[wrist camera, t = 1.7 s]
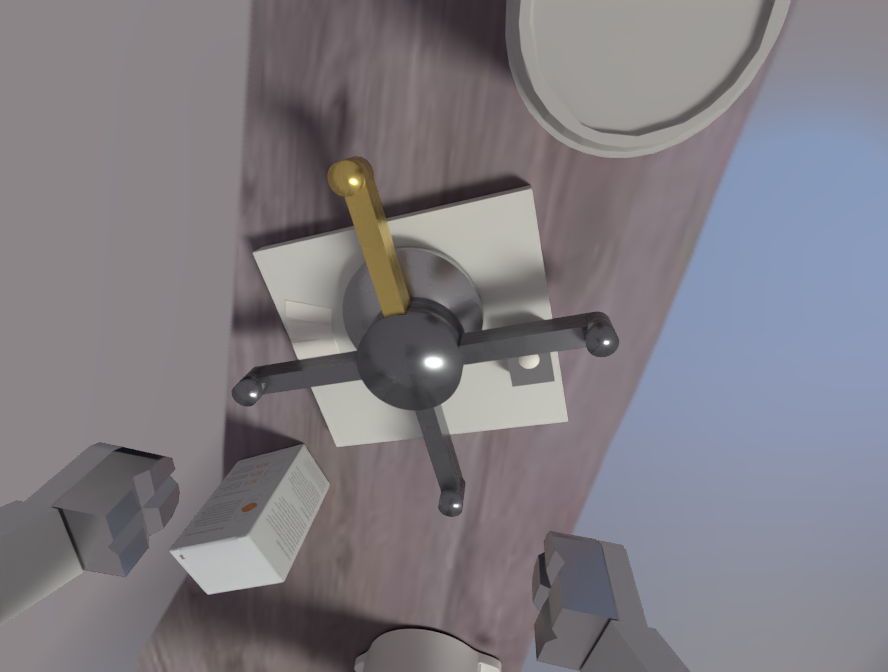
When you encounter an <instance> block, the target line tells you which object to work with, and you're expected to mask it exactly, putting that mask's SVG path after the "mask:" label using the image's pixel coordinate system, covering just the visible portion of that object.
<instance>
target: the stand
mask: <svg viewBox="0 0 888 672" xmlns="http://www.w3.org/2000/svg"><path fill="white" fill-rule="evenodd" d="M386 220H387V224H388V227H389V230H390V234H391V237H392V241H393V244H394V247H402V246H417V247H424V248H428V249H432V250H435V251H437V252H440V253H442V254H444V255H446V256H447V257H449V258H451V259H452V260H454V261H455V262H456V263H458V264H459V265H460V266H461V267H462V268H463V269H464V270H465V271H466V272H467V273H468V274H469V276H470V277H471V278H472V280H473V281H474V283H475V285H476V287H477V289H478V291H479V293H480V296H481V300H482V304H483V310H484V320H483V327H482V330H487V329H493V328H499V327H505V326H511V325H517V324H524V323H530V322H536V321H542V320H548V319H552V315H551V308H550V302H549V295H548V289H547V283H546V276H545V270H544V263H543V257H542V251H541V244H540V238H539V231H538V225H537V219H536V212H535V206H534V199H533V193H532V187H531V185H528V186H524V187H520V188H515V189H511V190H507V191H502V192H498V193H494V194H489V195H485V196H481V197H476V198H472V199H468V200H463V201H459V202H455V203H450V204H446V205H442V206H437V207H433V208H429V209H425V210H420V211H416V212H412V213H407V214H403V215H399V216H394V217H390V218H386ZM253 255H254V257H255V260H256V262H257V264H258V267H259V269H260V271H261V273H262V276H263V278H264V280H265V283H266V285H267V287H268V290H269V292H270V294H271V296H272V299H273V301H274V303H275V306H276V308H277V310H278V313H279V315H280V317H281V319H282V322H283V324H284V326H285V329H286V331H287V333H288V336H289V338H290V340H291V342H292V346H293V348H294V351H295V353H296V356H297V358H298V359H299V360H302V359H308V358H314V357H320V356H326V355H333V354H339V353H345V352H351V351H357V349H356V348H355V347H354V345H353V343H352V342H351V340H350V338H349V336H348V334H347V332H346V328H345V325H344V320H343V311H342V306H343V298H344V294H345V290H346V288H347V286H348V283H349V281H350V280H351V278H352V277H353V275H354V274H355V273H356V272H357V270H358V269H359V268H360V267H361V266H362V265H363V264H364V263H365V262H366V260H365V257H364V254H363V251H362V248H361V245H360V242H359V239H358V236H357V233H356V230H355V227H354V226H351V227H347V228H342V229H338V230H334V231H329V232H325V233H321V234H316V235H312V236H308V237H303V238H299V239H295V240H290V241H286V242H282V243H277V244H273V245H269V246H264V247H262V248H260V249H258V250H256V251H254V252H253ZM311 389H312V391H313V393H314V395H315V398H316V400H317V402H318V405H319V407H320V409H321V412H322V414H323V416H324V418H325V421H326V423H327V425H328V428H329V430H330V432H331V435H332V437H333V439H334V441H335V444H336V446H337V447H341V446H350V445H359V444H368V443H377V442H386V441H395V440H404V439H413V438H422V437H423V434H422V431H421V428H420V425H419V422H418V419H417V416H416V413H415V411H413V410H404V409H400V408H396V407H393V406H391V405H389V404H387V403H385V402H383V401H381V400H380V399H378V398H377V397H376V396H375V395H373V394H372V393H371V392H370V391H369V389H368V388H367V387H366V386H365V384H364V383H363V381H362V380H357V381H350V382H344V383H337V384H330V385H323V386H316V387H311ZM441 406H442V409H443V413H444V416H445V419H446V423H447V426H448V429H449V433H450V434H459V433H468V432H477V431H486V430H495V429H504V428H513V427H522V426H531V425H540V424H549V423H558V422H567V421H568V417H567V411H566V404H565V398H564V391H563V385H562V379H561V372H560V366H559V359H558V353H557V351H556V352H549V353H543V354H536V355H529V356H522V357H515V358H508V359H501V360H495V361H488V362H481V363H474V364H467V365H464V366H463V371H462V376H461V380H460V383H459V386H458V388H457V389H456V391H455V392H454V394H453V395H452V396H451V397H450V398H449V399H448V400H447V401H445V402H444V403H442V404H441Z"/></svg>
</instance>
